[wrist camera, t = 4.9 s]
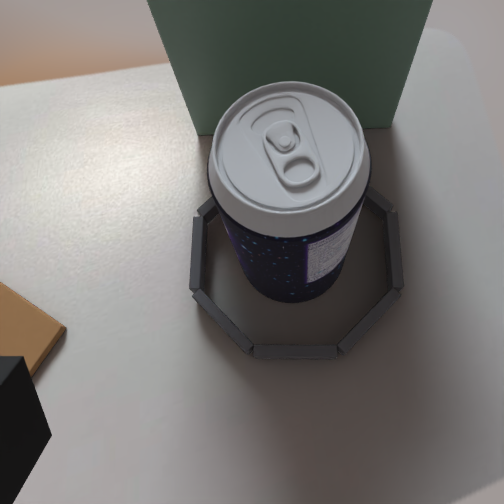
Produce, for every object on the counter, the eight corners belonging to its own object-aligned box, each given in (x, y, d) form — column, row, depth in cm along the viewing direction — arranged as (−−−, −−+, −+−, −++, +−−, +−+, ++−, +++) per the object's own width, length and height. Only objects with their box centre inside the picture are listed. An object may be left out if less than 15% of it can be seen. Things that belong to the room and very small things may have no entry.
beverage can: (316, 196, 27) (329, 46, 16) (360, 281, 25) (411, 183, 14) (227, 233, 27) (175, 109, 15) (265, 322, 25) (238, 256, 14)
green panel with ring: (412, 360, 24) (615, 285, 8) (184, 358, 25) (4, 290, 10) (388, 107, 28) (492, -231, 13) (198, 115, 30) (93, -186, 14)
